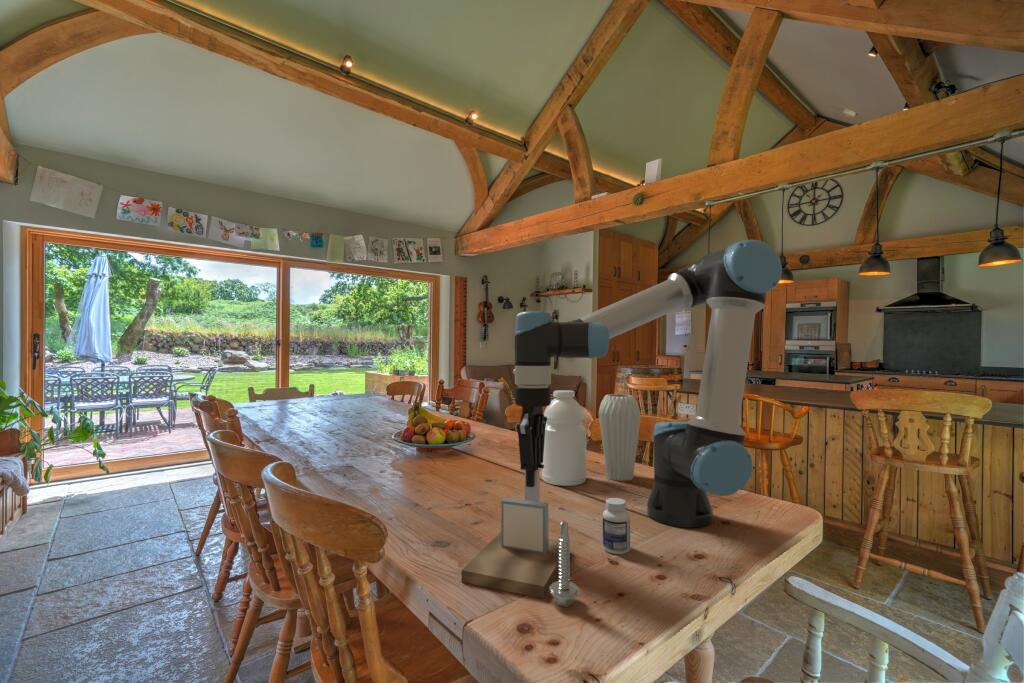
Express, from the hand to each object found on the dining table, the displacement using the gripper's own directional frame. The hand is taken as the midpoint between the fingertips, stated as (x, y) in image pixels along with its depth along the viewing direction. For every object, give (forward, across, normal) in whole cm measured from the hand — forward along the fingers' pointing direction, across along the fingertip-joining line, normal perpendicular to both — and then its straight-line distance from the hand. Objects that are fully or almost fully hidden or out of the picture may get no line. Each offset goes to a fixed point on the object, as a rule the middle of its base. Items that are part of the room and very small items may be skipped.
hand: (532, 501), depth 91 cm
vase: (+10, -59, +10) cm, 60 cm away
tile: (+8, +5, 0) cm, 9 cm away
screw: (+10, +17, +11) cm, 23 cm away
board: (+10, +8, 0) cm, 13 cm away
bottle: (+10, -50, -6) cm, 51 cm away
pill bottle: (+10, -6, +16) cm, 20 cm away
